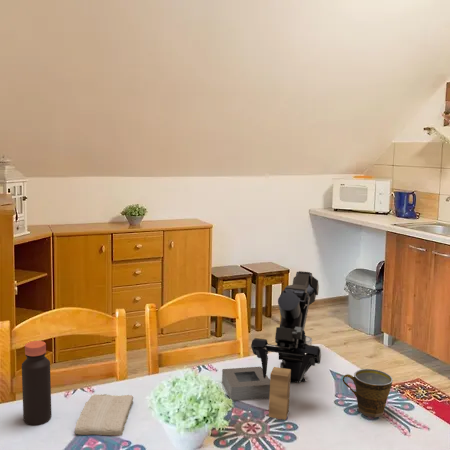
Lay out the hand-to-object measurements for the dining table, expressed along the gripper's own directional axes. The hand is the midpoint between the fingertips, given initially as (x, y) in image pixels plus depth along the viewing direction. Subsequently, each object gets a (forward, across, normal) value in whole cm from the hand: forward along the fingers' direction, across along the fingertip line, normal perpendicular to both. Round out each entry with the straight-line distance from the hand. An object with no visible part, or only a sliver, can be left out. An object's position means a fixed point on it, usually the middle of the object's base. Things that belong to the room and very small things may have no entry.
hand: (281, 380), depth 138 cm
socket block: (0, -12, +13) cm, 17 cm away
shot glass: (-20, 0, +33) cm, 39 cm away
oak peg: (+7, 0, +5) cm, 9 cm away
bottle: (+24, -58, -11) cm, 64 cm away
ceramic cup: (0, +22, +12) cm, 25 cm away
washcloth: (+19, -42, -6) cm, 47 cm away
